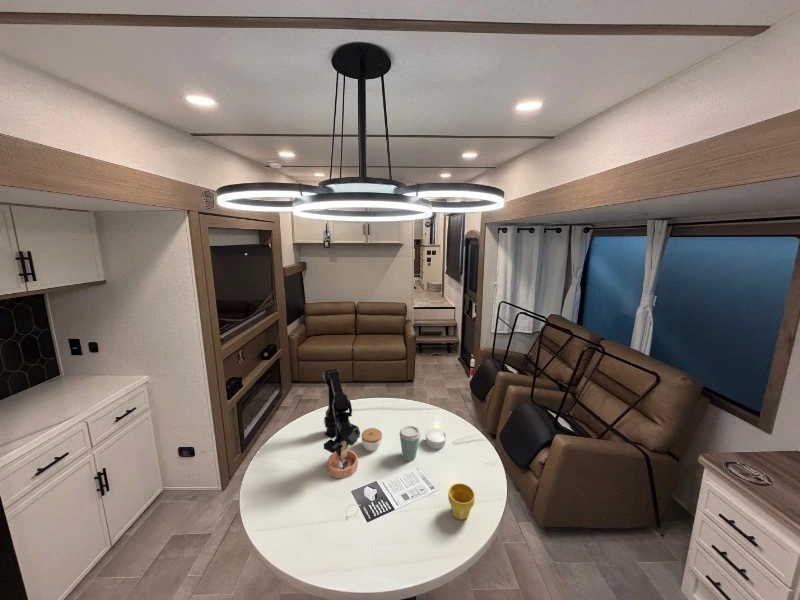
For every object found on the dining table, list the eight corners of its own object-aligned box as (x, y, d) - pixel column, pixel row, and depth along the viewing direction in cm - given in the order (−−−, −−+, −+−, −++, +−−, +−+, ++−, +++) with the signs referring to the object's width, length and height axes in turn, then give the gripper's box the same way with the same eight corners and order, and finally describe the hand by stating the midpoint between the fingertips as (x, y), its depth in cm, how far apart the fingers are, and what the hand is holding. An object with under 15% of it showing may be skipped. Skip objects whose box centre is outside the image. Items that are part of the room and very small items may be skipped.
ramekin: (447, 451, 164) (447, 442, 163) (425, 450, 165) (426, 441, 163) (444, 437, 175) (445, 429, 174) (424, 436, 175) (424, 428, 174)
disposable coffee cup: (395, 460, 157) (396, 433, 154) (403, 446, 167) (403, 421, 164) (416, 466, 154) (417, 439, 150) (422, 452, 163) (423, 426, 160)
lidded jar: (383, 441, 171) (383, 426, 169) (380, 455, 161) (380, 438, 159) (363, 439, 172) (363, 424, 170) (359, 453, 162) (359, 437, 160)
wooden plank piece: (338, 458, 150) (337, 444, 148) (343, 453, 153) (343, 439, 151) (341, 460, 149) (341, 445, 147) (347, 455, 152) (346, 440, 150)
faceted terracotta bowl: (321, 470, 150) (321, 462, 149) (341, 453, 162) (341, 446, 161) (344, 482, 143) (343, 475, 142) (363, 464, 154) (363, 456, 153)
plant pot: (446, 501, 134) (447, 482, 132) (470, 502, 134) (472, 483, 131) (448, 524, 124) (450, 503, 122) (475, 525, 123) (477, 504, 121)
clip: (337, 466, 152) (337, 460, 151) (341, 462, 154) (341, 456, 154) (343, 469, 150) (343, 463, 149) (348, 465, 152) (348, 460, 152)
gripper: (341, 441, 135) (341, 472, 139) (367, 419, 151) (367, 448, 154) (322, 432, 141) (323, 462, 144) (349, 412, 156) (350, 439, 160)
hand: (342, 452), depth 151 cm, fingers closed on wooden plank piece, 4 cm apart
